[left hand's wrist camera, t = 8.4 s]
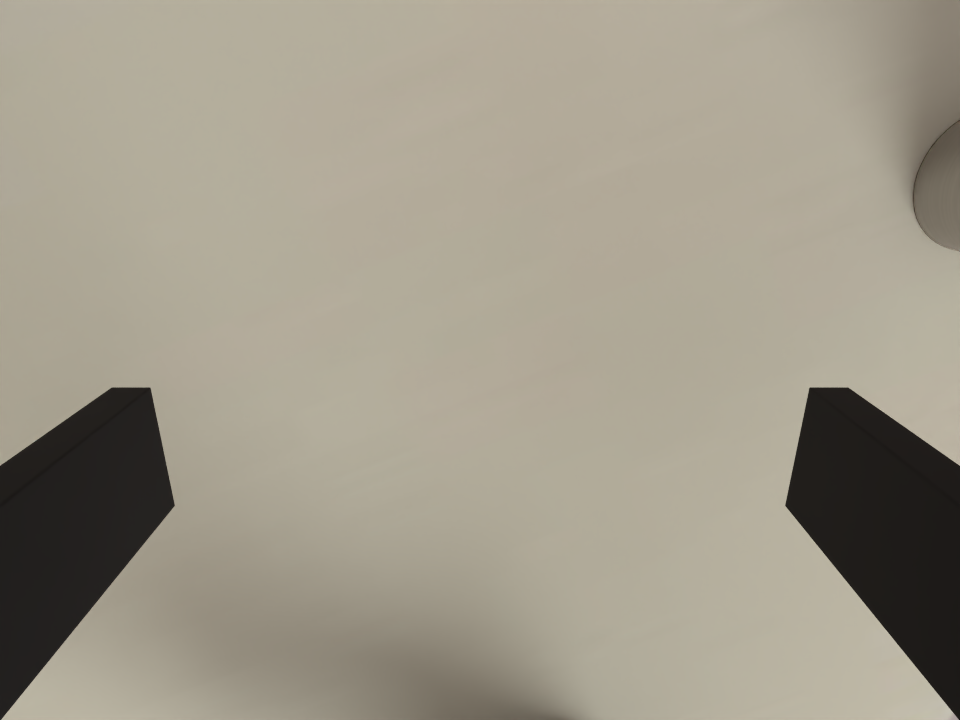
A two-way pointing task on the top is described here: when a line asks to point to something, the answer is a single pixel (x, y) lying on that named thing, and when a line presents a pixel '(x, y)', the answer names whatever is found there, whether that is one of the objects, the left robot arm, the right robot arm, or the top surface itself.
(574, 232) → the top surface
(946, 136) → the jar
